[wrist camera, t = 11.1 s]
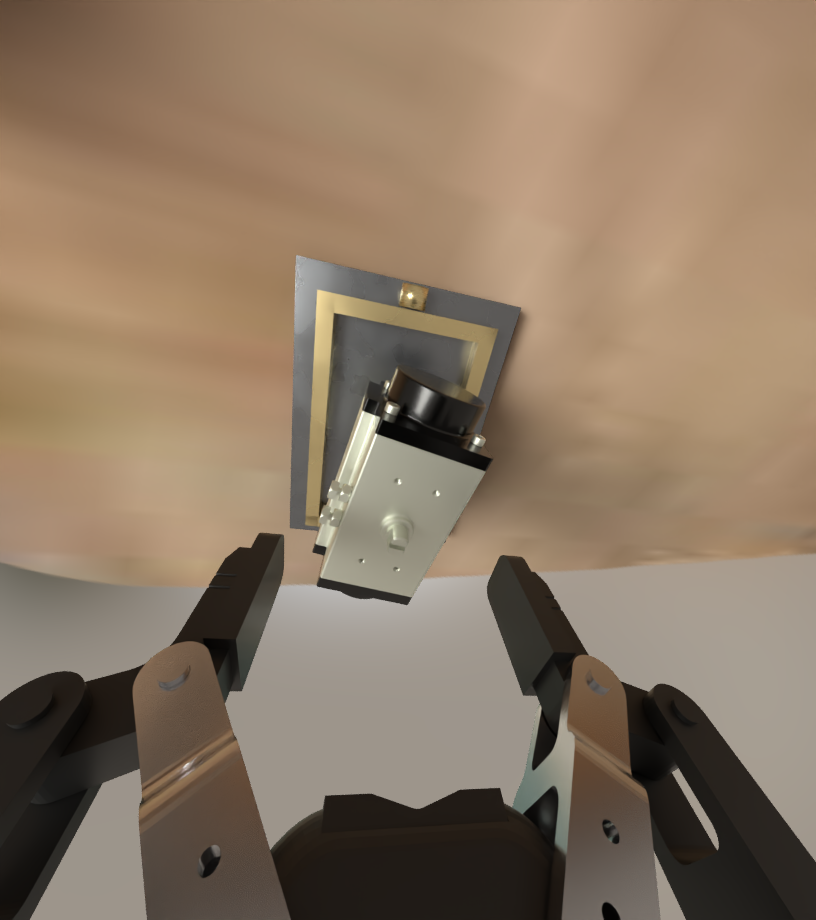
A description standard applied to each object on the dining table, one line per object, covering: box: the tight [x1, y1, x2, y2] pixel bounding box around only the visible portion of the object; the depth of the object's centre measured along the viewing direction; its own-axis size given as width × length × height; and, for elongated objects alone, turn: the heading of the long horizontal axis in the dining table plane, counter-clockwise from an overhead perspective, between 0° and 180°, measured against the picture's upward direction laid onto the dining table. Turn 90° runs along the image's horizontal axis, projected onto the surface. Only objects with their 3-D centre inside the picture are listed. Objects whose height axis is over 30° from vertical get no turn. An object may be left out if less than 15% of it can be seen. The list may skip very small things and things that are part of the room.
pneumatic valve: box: [313, 365, 493, 605], centre depth 17 cm, size 6×12×12 cm, turn 158°
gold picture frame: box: [290, 255, 521, 543], centre depth 22 cm, size 20×14×3 cm
